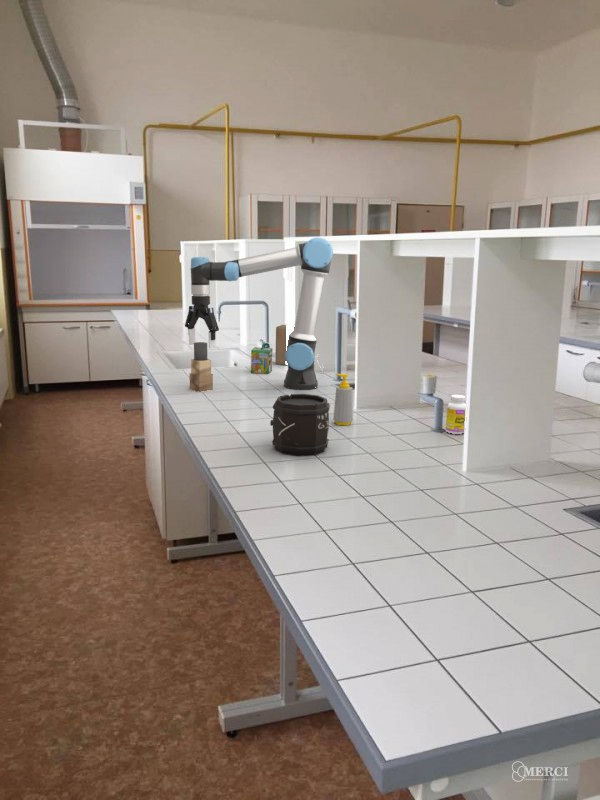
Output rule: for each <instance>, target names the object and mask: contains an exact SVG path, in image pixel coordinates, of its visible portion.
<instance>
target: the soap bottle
mask: <svg viewBox="0 0 600 800" xmlns="http://www.w3.org/2000/svg"><path fill="white" fill-rule="evenodd" d="M334 376H337V377H342V379H343V381H341V382H340V384H339V386H336V387H335V397H334V399H335V400H334V408H333V421H334V424H336V425H337V426H349V425H350V426H351V424H352V422H353V420H354V419H353V418H354V417H353V416H354V415H353V413H354V411H353V407H354V404H353V399H354V398H353V395H354V394H353V392H354V391H353V386H350V384H349V382H348V381H347V379H348V376H350V373H334Z"/></svg>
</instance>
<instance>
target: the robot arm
mask: <svg viewBox="0 0 600 800" xmlns="http://www.w3.org/2000/svg"><path fill="white" fill-rule="evenodd" d="M333 255H334V248H333V247H332V244H331V243H330V242H329V241H328V240H327V239H326V238H323V237H313V238H311V239H309V240H308V241H306V242H304V243H299V244H297V245H296V246H295V247H292V248H287V249H282V250H276V251H273V252H267V253H263V254H258V255H253V256H248V257H244V258H239V259H234V260H228V261H222V262H221V261H218V262H216V261H215V262H212V261H210V258H209V257H207V256H205V257H204V256H193V257H192V258H191V259H190V268H189V269H190V278H191V279H190V281H191V283H190V288H191V289H190V291H191V295H192V296H191V305H189V306H188V312H187V316H186V320H185V324H184V327H185V328H187V331H188V333H187V334H188V344H189V345H194V343H196V328H195V326H196V324H197V322H198V320H199V318H200V319H202V320H203V321H204V323H205V325H206V327H207V329H208V349H215V348H216V332H219V330H220V328H219V325H218V322H217V319H216V315H215V310H214V307H209V305H210V304H211V296H210V283H211V282H214V281H217V282H218V281H220V282H236V281H238V280H239V278H242V277H248V276H253V275H257V274H263V273H267V272H272V271H278V270H283V269H287V268H294V267H297V266H300V270H301V272H302V274H303V275H302V282H301V287H300V293H299V300H298V305H297V311H296V316H295V321H294V322H295V323H294V325H295V327H294V331H293V332H292V333H291V334H290V335H289V340H288V346H287V351H286V353H285V358H286V361H287V363H288V365H287V371H286V374H285V377H284V380H283V387H284V388H285V389H288V390H297V389H299V390H302V389H308V390H312V389H311V388H315V387H317V386H318V384H319V383H318V382H319V381H318V379H317V374H315V373H316V372H315V371H316V370H315V364H314V363H315V360H316V358H315V357H316V346H317V342H318V340H317V338H316V336H315V332H316V326H317V321H318V316H319V315H318V314H319V310H320V304H321V299H322V293H323V287H324V282H325V277H327V276H328V275H329V274H330V269H331V264H332V259H333V257H334V256H333ZM210 281H211V282H210ZM317 388H318V387H317ZM315 389H316V388H315Z"/></svg>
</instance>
